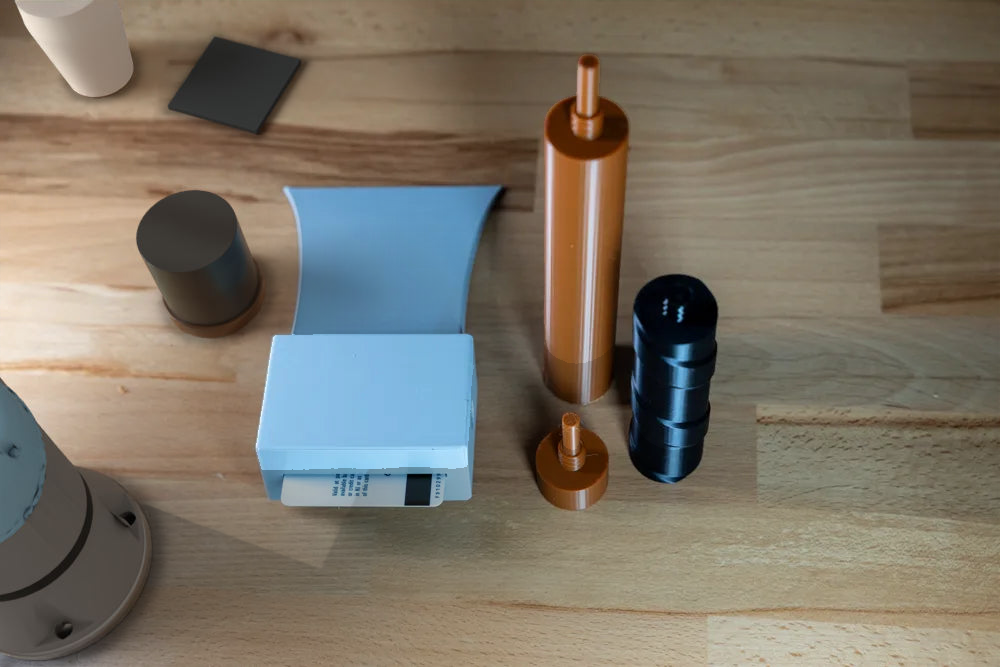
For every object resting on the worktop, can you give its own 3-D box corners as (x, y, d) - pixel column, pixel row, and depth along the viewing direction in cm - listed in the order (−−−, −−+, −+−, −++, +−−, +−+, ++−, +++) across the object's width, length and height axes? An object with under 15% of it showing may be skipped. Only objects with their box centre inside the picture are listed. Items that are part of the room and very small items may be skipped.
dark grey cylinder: (237, 350, 103) (208, 288, 94) (148, 321, 105) (112, 257, 96) (283, 269, 107) (259, 203, 99) (196, 242, 109) (165, 175, 101)
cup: (99, 120, 117) (55, 33, 107) (39, 81, 120) (-10, -8, 110) (164, 65, 121) (127, -25, 110) (103, 28, 124) (63, -63, 114)
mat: (257, 134, 116) (256, 130, 115) (168, 109, 118) (167, 105, 117) (302, 63, 120) (301, 59, 120) (215, 40, 122) (214, 36, 122)
